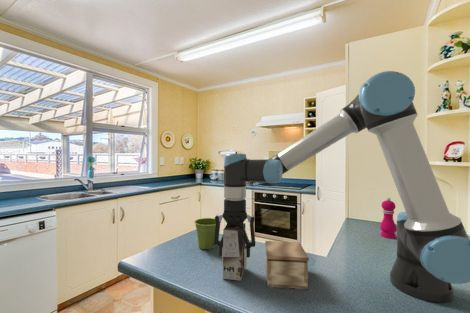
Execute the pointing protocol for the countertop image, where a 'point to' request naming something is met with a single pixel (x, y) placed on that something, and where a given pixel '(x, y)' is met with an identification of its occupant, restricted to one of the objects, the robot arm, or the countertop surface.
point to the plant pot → (206, 232)
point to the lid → (285, 251)
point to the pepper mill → (388, 220)
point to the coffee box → (233, 253)
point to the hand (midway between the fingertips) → (234, 265)
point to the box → (287, 273)
